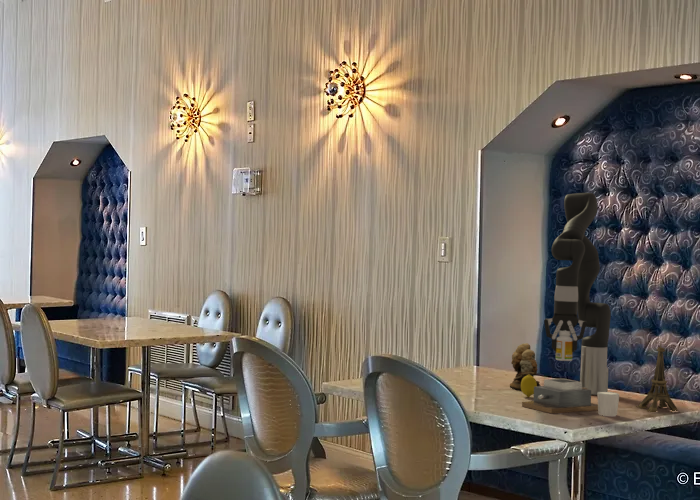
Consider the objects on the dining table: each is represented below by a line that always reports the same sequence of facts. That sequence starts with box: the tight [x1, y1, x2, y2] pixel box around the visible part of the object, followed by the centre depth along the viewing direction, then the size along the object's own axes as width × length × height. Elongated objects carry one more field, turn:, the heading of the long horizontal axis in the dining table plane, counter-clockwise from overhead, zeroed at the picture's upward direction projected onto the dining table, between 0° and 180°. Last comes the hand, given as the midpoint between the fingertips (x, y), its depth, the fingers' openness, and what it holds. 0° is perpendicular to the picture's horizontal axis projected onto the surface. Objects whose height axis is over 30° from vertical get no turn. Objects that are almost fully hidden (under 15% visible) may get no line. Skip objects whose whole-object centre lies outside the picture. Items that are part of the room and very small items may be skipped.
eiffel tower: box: [636, 342, 679, 413], centre depth 329 cm, size 11×11×25 cm
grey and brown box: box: [521, 378, 598, 415], centre depth 324 cm, size 22×14×9 cm, turn 121°
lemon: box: [520, 375, 537, 398], centre depth 346 cm, size 6×6×8 cm
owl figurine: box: [509, 342, 542, 392], centre depth 367 cm, size 18×12×17 cm, turn 0°
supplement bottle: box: [555, 330, 574, 362], centre depth 324 cm, size 5×5×10 cm
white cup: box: [596, 391, 621, 417], centre depth 315 cm, size 7×7×7 cm
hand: (564, 351), depth 324 cm, fingers closed on supplement bottle, 5 cm apart
